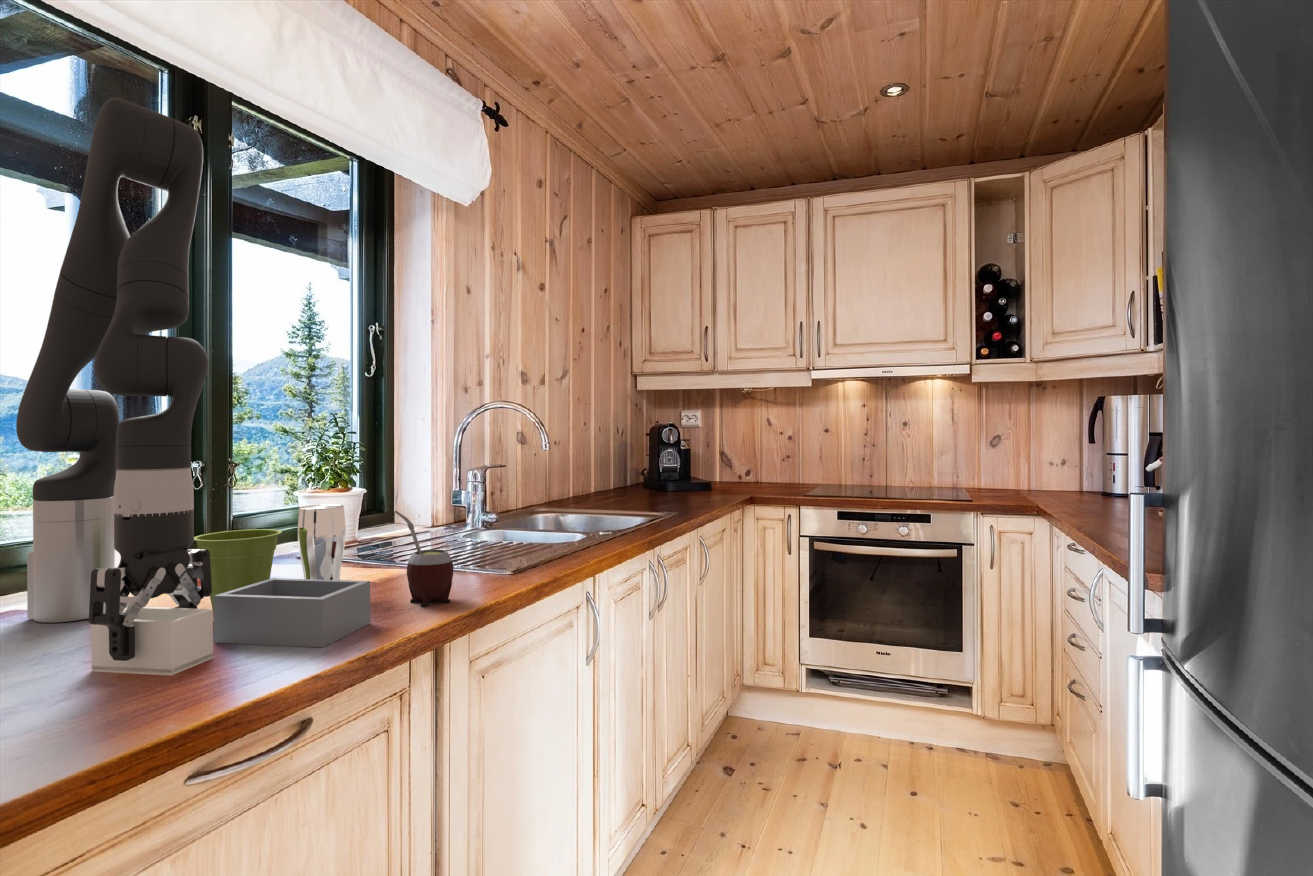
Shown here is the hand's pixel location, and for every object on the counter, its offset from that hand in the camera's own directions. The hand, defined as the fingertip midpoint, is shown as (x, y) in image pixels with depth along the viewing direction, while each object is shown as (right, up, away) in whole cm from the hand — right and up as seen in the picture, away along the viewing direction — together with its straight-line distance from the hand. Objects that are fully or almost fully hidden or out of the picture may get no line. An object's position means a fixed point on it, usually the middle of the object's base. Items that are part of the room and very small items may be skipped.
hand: (155, 647), depth 81 cm
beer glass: (+4, -2, +32) cm, 32 cm away
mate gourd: (+22, -2, +29) cm, 37 cm away
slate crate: (+10, -2, +13) cm, 16 cm away
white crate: (0, -2, 0) cm, 2 cm away
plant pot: (-7, -2, +27) cm, 28 cm away
